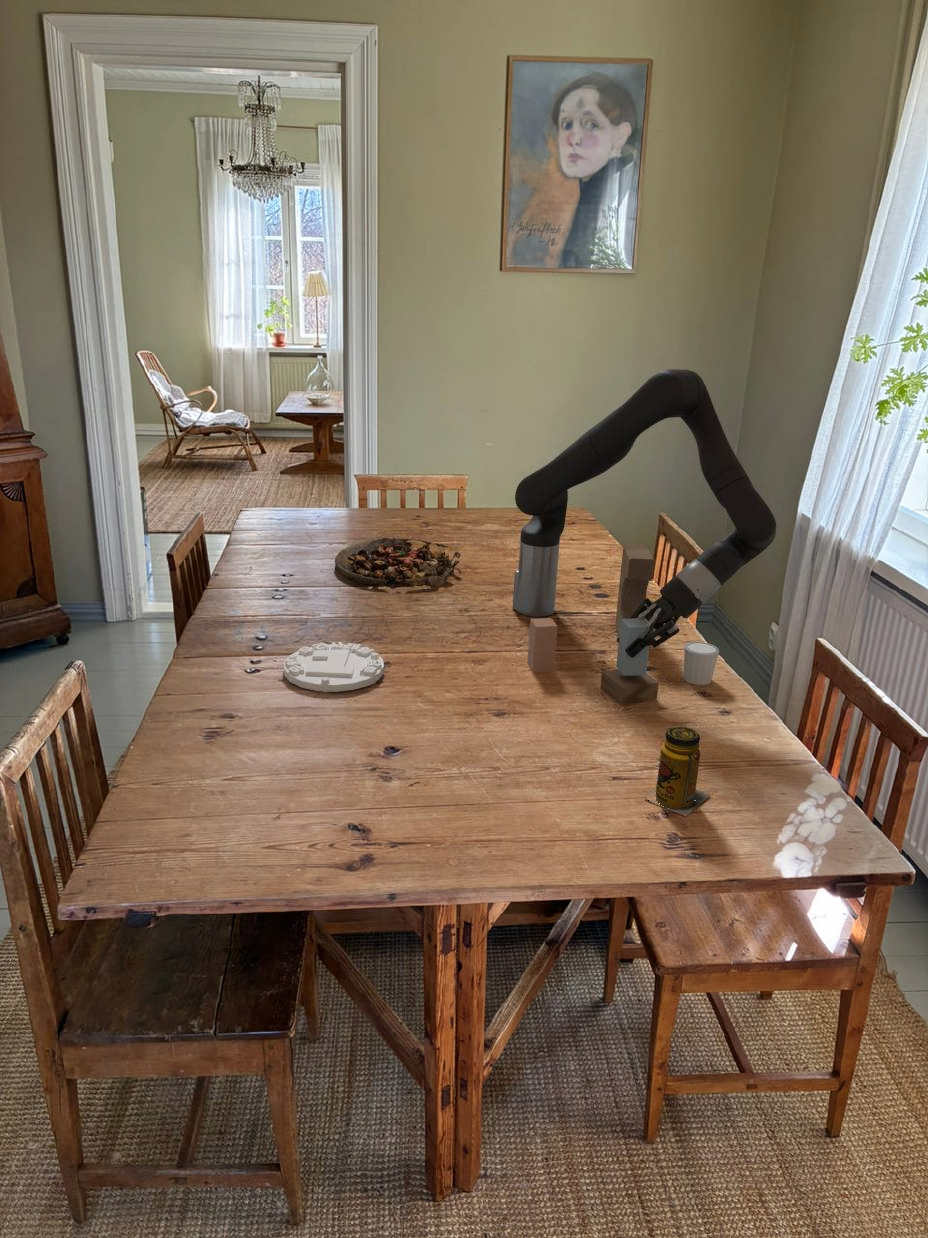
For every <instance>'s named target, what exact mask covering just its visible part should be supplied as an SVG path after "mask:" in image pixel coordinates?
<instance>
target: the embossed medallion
mask: <svg viewBox="0 0 928 1238" xmlns="http://www.w3.org/2000/svg"><path fill="white" fill-rule="evenodd" d="M283 672H284V674H283V675H284V676H285V678H286V679H287V681H289V682H290V683H291V684H294V685H295V686H298V687H299V688H303V689H306V690H312V691H316V692H323V693H325V694H327V693H330V692H332V693H333V692H335V693H337V692H346V691H354V690H357V689H361V688H366V687H369V686H371V685H374V684H376V683H377V682H378V681H379V680H380V679H381V678H382V676H383V675H384V673H385V664H384V659H383V658H382V657H381V655H380V653H378V652H375V649H374V648H370V647H367V646H362V645H361V643H351V642H347V644H344V643H343V642H342V641H338V643H336V642H331V644H328V643H324V642H319V643H314V644H311V646H310V647H309V646H302V647H300V648H299V649H298V650H297V651H296V652H293V653H292V654H289V655H288V657H287V658H286V659H285V660H284V664H283Z"/></svg>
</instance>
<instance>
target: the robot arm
mask: <svg viewBox="0 0 928 1238" xmlns="http://www.w3.org/2000/svg"><path fill="white" fill-rule="evenodd" d="M670 418H680V419H681V420H682V421H683V422H684V423H685V424H686V426H687V428H689V430H690V432H691V433H692V435H693V438H694V440H695V442H696V446H697V450H698V459H699V465H700V470H701V472H702V474H703V477H704V479H705V481H706V483H707V485H708V486H709V489H711V491H712V493H713V495H714V497H715V499H716V500H717V502H718V503H719V504H720V505H721V507H723V508H724V509H725V511H726V513H727V514H728V516H729V519H730V520H731V521H732V523H733V525H734V529H733V530H732V531H731V532H729V533H728V534H727V535H726V536H725V537H724V538H723V539H721V540H719V541H715V542H713V543H712V544H711V545H709V547H707V548H706V549H705V550H704V551H703V552H702V553H701V554H699V555H698V556H697V557H696V559H694V560H692V561H691V562H690V563H688V564H687V565H685V567H683V568H682V569H681V570H680V571H679V572H678V573H676V574H675V576H673V577H672V578H671V579H670V580H669V581H668V582H667V583H666V584H664V586H662V588H660V589H659V594H660V596H661V597H659V598H657V599H655V600H654V601H652V600H651V599H650V598H649V597H646V599H645V600H644V601H643V602H642V603H641V605H640V606H639V607H638V608H637V610H636V611H635V612H634V613H633V614H632V616H631V617H630V618H629V619H633V618H637V617H638V618H639V619H645V620H646V621H647V622H648V623H647V625H646V627H647V629H646V630H645V631H644V632H643V633H642V634H641V636H640V638H639V637H638V638H637V639H636V640H635V641H634V642H633V643H632V644H631V645H630V646H628V647H627V648H626V649H625V652H626V653H627V654H628V655H629V656H630V657H631V658H633V657H635V656H636V655H637V654H638V653H639V652H640V651H642V650H643V649H644V648H645V647H646V646H649V647H650V646H651V647H653V648H657V647H659V646H661V645H662V644H663V643H665V642H666V641H668V640H670V639H671V638H672V637H675V636H676V635H677V634H678V633H680V630H681V629H680V628H679V627H678V626H677V624H676V623H678V621H679V619H680V618H681V617H682V618H683V619H685V620H686V619H688V618H690V617H691V616H692V615H693V614H694V613H695V612H696V611H698V609H700V608H701V607H702V606H703V605H704V604H705V603H706V602H707V601H709V600H710V599H711V598H712V597H713V596H714V595H715V594H716V592H717V591H718V590H719V589H720V588H721V587H722V586H723V585H724V584H725V583H727V581H729V580H730V579H731V578H732V577H734V575H735V574H737V572H738V571H739V570H740V569H741V568H742V567H743V566H745V565H747V564H748V563H750V562H751V561H752V560H754V559H755V558H756V557H758V556H759V555H760V554H762V553H763V552H764V551H765V550H766V549H767V548H769V547H770V545H771V544H772V543H773V541H774V540H775V538H776V535H777V521H776V518H775V516H774V514H773V512H772V511H771V509H770V507H769V506H768V504H767V503H766V502H765V500H764V498H763V497H762V496H761V495H760V493H759V492H758V491H757V490H756V489H755V487H754V485H753V482H752V481H751V478H750V477H749V476H748V473H747V472H746V471H745V469H744V467H743V465H742V464H741V461H740V460H739V459H738V457H737V456H736V453H735V451H734V450H733V447H732V446H731V444H730V442H729V440H728V438H727V435H726V433H725V431H724V429H723V426H722V424H721V421H720V418H719V416H718V414H717V411H716V409H715V406H714V405H713V401H712V399H711V396H710V393H709V390H708V388H707V386H706V384H705V381H704V379H703V378H702V377H701V375H699V374H698V372H695V371H693V370H690V369H685V368H683V369H681V368H679V369H677V368H676V369H675V368H674V369H673V368H669V369H663V370H660V371H658V372H655V373H654V374H653V375H652V376H651V377H650V378H648V379H647V380H646V381H645V382H644V383H643V384H642V385H641V386H640V387H639V388H638V389H637V390H636V391H635V392H634V393H633V394H632V395H631V396H630V397H629V398H628V399H627V400H626V401H625V402H624V403H622V405H620V406H619V407H617V408H616V409H615V410H614V411H612V412H611V413H609V414H608V415H607V416H605V418H603V419H601V420H600V421H599V422H597V423H596V424H595V425H594V426H592V427H591V428H590V429H588V430H587V431H586V432H584V433H583V434H582V435H581V436H580V437H579V438H578V439H576V440H575V441H574V442H573V443H572V444H571V445H569V446H568V447H566V449H564V450H563V451H561V453H559V454H558V455H557V456H556V457H555V458H554V459H553V460H551V461H550V462H548V463H547V464H545V465H544V466H542V467H540V468H539V469H537V470H535V471H534V472H532V473H531V474H528V475H527V476H526V477H524V478H523V479H522V480H520V482H519V483H518V485H517V487H516V489H515V492H514V502H515V504H516V507H517V508H518V509H519V510H520V512H521V513H523V514H524V515H528V516H532V518H531V519H530V521H529V522H528V523H526V524H525V525H524V526H522V528H521V530H520V539H519V556H518V569H517V570H515V571H514V579H513V593H512V595H513V596H512V610H515V611H516V612H518V613H520V614H521V615H524V616H527V617H528V616H529V617H538V618H539V617H540V618H541V617H547V616H550V615H552V614H554V612H555V606H556V591H557V582H558V581H557V579H558V568H559V555H560V554H559V553H560V545H561V544H560V541H561V536H562V535H563V532H564V529H565V526H566V525H565V524H566V517H567V508H568V501H569V491H568V490H570V489H571V488H574V487H576V486H578V485H580V484H581V485H582V484H583V483H586V482H587V481H590V480H592V479H594V478H596V477H598V476H601V475H603V473H606V472H607V471H608V470H610V469H611V468H613V467H614V466H616V465H617V464H618V463H619V462H621V461H623V459H624V458H625V457H626V456H627V455H628V454H629V452H630V451H631V449H632V448H633V446H634V444H635V442H636V441H637V439H638V437H639V436H640V435H642V433H644V432H645V431H647V430H648V429H650V428H651V427H652V426H654V425H656V424H658V423H660V422H661V421H663V420H666V419H670ZM638 615H639V616H638ZM650 632H651V634H649V633H650ZM648 634H649V635H648ZM616 642H617V643H618V644H619V637H617V638H616Z"/></svg>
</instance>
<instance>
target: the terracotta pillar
mask: <svg viewBox="0 0 928 1238" xmlns="http://www.w3.org/2000/svg"><path fill="white" fill-rule="evenodd" d="M529 621H530V622H529V633H528V635H529V636H528V648H527V649H528V651H527V665H528V667H529V668H530V671H531V672H532V673H537V672H538V673H541V672H542V673H544V672H546V673H547V672H554V671H555V660H556V650H557V649H556V647H557V635H558V625H557V624H556V622H555V621H554V620H553V618H552V617H547V618H544V617H543V618H541V617H540V618H530V620H529Z"/></svg>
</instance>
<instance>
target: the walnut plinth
mask: <svg viewBox="0 0 928 1238" xmlns="http://www.w3.org/2000/svg"><path fill="white" fill-rule="evenodd" d="M659 684H660V683H659V682H658V681H657V680H656V679H655V678H654V677H652V676H651V675H649V674H648V673H646V675H630V676H624V675H623V674H622V673H621V672H620V670H619V669H618V668H615V669H609V670H602V671H601V678H600V688H599V689H600V690H602V692H604V693H606V695H608V696H609V697H610V698H612V700H614V701H615V702H616V703H617V704H619V706H620V707H621V706H626V705H627V706H629V705H634V704H640V703H645V702H651V701H652V702H653V701H657V699H658V690H659V686H660V685H659Z"/></svg>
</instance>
